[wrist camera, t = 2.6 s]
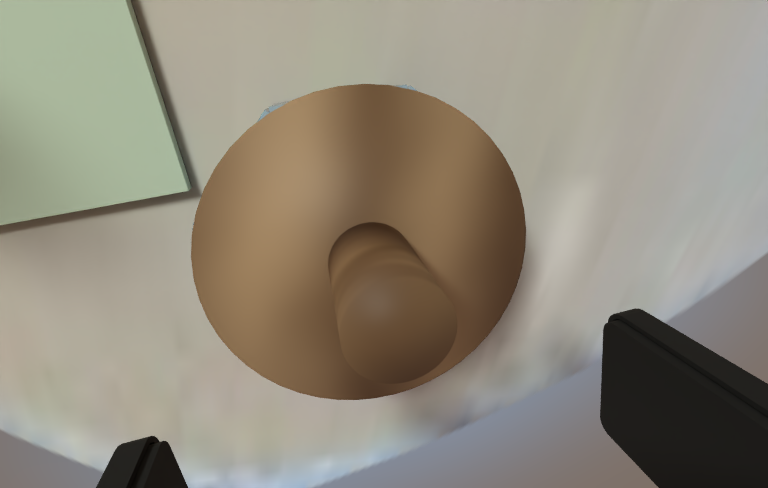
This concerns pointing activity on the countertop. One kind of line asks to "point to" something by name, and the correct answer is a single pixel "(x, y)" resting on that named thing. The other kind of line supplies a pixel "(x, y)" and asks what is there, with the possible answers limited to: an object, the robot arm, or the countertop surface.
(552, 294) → the countertop surface
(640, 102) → the countertop surface
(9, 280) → the countertop surface
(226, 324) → the lid
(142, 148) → the mat
